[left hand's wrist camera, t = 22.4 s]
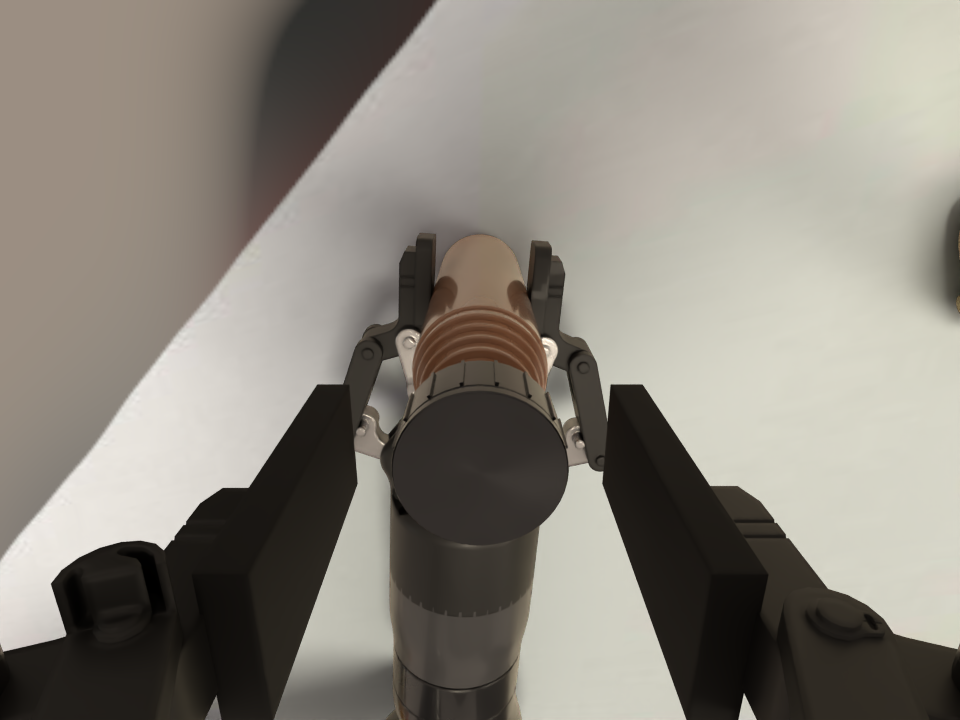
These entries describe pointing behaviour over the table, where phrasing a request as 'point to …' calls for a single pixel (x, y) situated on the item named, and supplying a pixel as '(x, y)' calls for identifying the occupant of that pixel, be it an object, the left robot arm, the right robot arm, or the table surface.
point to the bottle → (479, 313)
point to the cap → (480, 454)
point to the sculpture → (959, 299)
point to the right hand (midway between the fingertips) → (483, 241)
